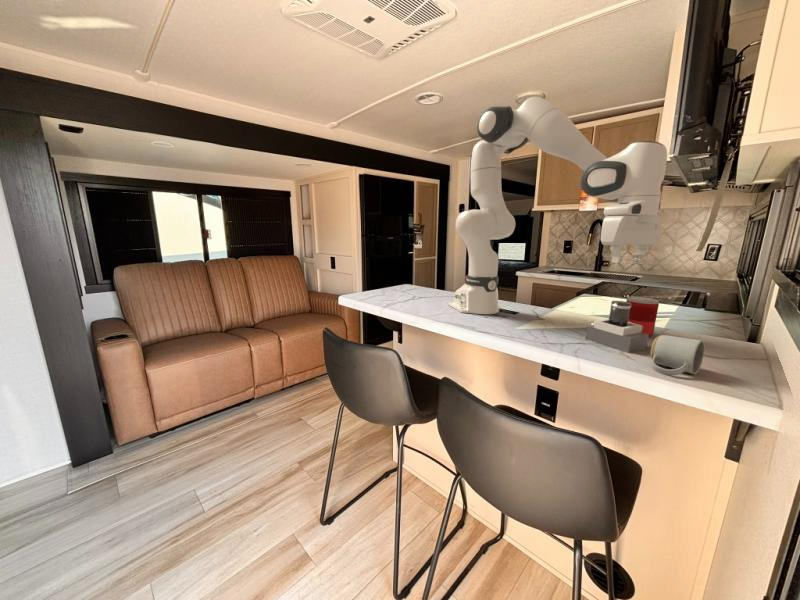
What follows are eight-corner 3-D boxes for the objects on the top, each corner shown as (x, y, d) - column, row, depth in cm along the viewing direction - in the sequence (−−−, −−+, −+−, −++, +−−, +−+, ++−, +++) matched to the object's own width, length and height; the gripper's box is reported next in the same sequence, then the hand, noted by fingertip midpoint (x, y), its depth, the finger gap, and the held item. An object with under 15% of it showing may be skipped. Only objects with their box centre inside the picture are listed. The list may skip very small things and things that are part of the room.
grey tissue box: (585, 338, 93) (588, 319, 91) (602, 335, 96) (605, 316, 94) (628, 352, 82) (632, 330, 81) (646, 348, 85) (650, 327, 84)
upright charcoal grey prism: (603, 328, 89) (607, 301, 87) (613, 326, 91) (618, 300, 89) (620, 333, 85) (624, 304, 83) (630, 331, 87) (635, 303, 85)
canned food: (659, 337, 94) (666, 302, 92) (633, 337, 94) (639, 301, 92) (640, 329, 102) (646, 296, 99) (615, 329, 102) (621, 296, 99)
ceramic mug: (657, 358, 78) (663, 329, 77) (701, 369, 72) (708, 338, 70) (641, 368, 73) (646, 337, 71) (686, 382, 66) (694, 348, 64)
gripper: (646, 210, 88) (637, 259, 91) (599, 208, 80) (591, 262, 83) (673, 209, 82) (662, 262, 85) (625, 206, 74) (616, 264, 77)
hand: (627, 262), depth 84 cm, fingers open, 8 cm apart
